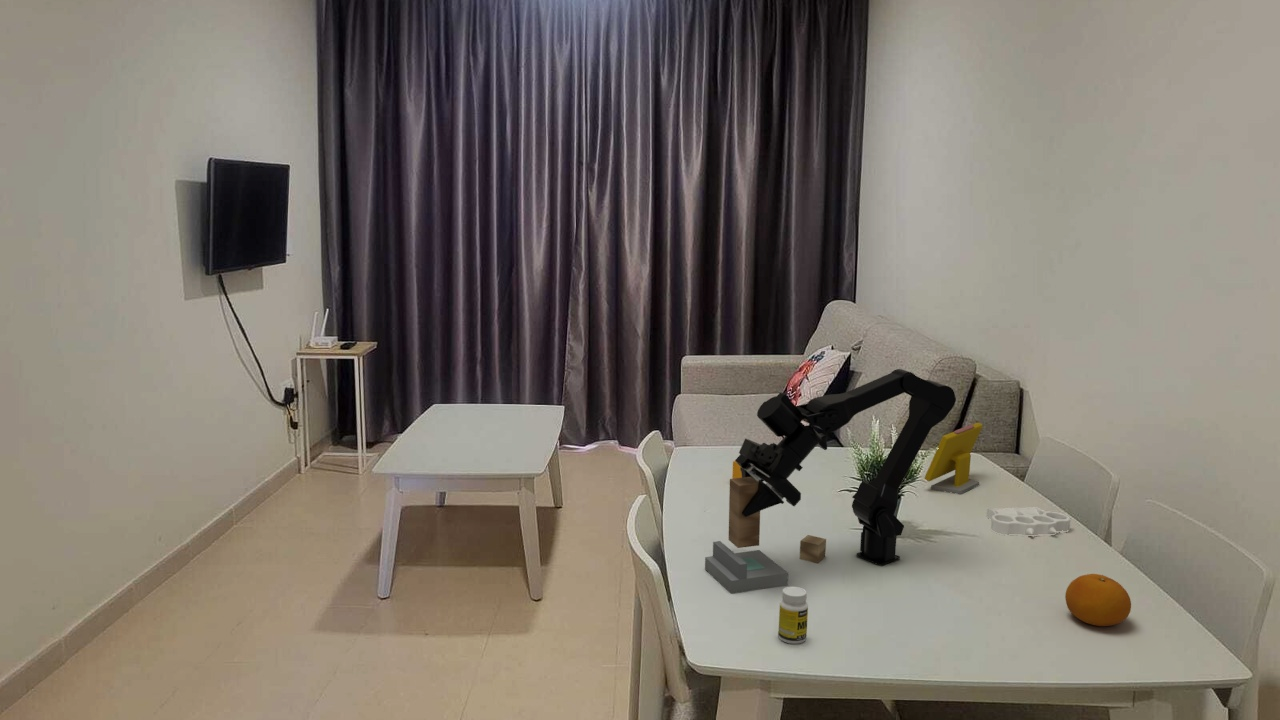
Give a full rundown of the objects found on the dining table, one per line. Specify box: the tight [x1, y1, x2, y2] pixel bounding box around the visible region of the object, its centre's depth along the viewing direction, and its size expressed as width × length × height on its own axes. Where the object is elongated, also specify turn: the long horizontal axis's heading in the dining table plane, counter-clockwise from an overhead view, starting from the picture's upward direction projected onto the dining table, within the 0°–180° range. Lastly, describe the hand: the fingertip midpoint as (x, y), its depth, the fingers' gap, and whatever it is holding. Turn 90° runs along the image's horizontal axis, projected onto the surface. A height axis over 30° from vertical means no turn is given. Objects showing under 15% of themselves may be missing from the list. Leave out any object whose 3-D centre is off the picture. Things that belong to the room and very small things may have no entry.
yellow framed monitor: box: [924, 422, 984, 495], centre depth 238 cm, size 20×8×16 cm, turn 136°
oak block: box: [799, 534, 827, 564], centre depth 191 cm, size 4×4×4 cm
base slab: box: [704, 540, 789, 594], centre depth 181 cm, size 12×12×6 cm
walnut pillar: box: [728, 477, 761, 549], centre depth 180 cm, size 4×4×12 cm
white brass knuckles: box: [985, 505, 1071, 535], centre depth 210 cm, size 3×18×15 cm
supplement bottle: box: [777, 586, 809, 645], centre depth 156 cm, size 5×5×8 cm
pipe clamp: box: [731, 460, 742, 479], centre depth 241 cm, size 12×4×6 cm, turn 148°
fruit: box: [1064, 573, 1132, 627], centre depth 164 cm, size 10×10×8 cm
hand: (738, 511), depth 179 cm, fingers closed on walnut pillar, 4 cm apart
